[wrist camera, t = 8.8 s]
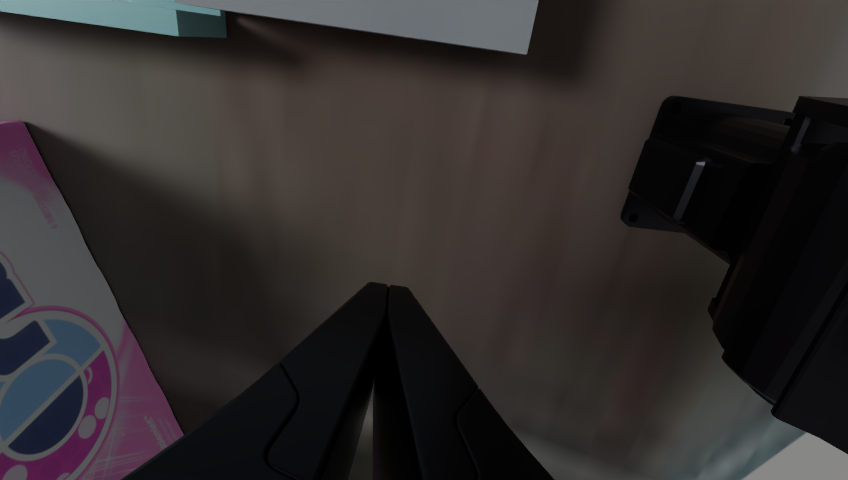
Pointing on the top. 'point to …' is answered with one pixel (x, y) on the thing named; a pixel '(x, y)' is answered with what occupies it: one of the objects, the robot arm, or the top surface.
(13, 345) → the gum box
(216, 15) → the tray
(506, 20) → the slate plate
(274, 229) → the top surface
